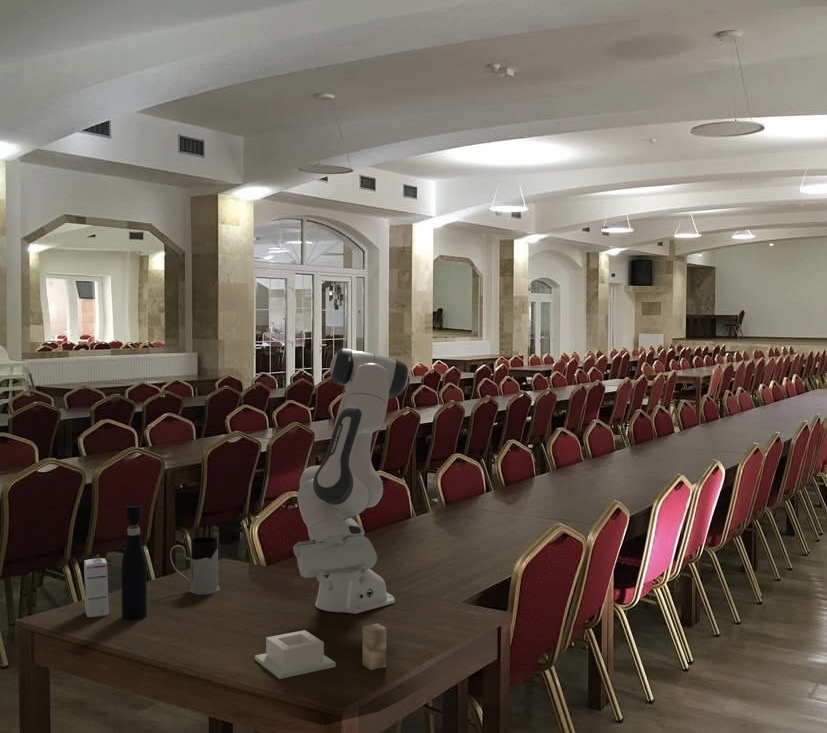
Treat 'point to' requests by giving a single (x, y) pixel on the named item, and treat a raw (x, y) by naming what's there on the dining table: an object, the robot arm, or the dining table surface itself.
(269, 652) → the white socket base
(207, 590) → the grey mug
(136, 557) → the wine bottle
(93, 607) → the syrup box
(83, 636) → the dining table surface
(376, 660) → the tan tall wooden block
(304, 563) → the robot arm
